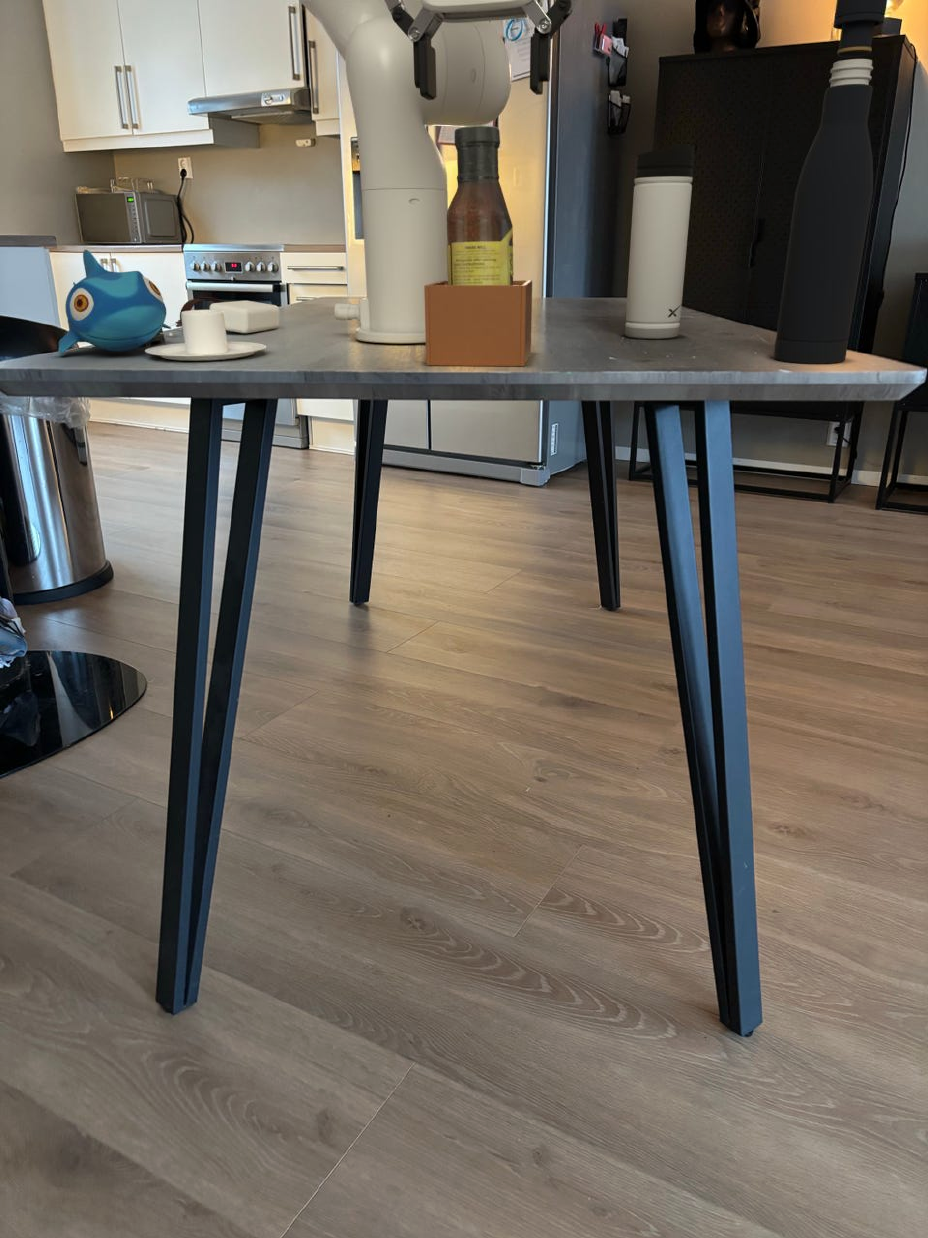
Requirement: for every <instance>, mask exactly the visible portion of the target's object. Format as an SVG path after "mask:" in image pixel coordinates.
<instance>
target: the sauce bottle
mask: <svg viewBox="0 0 928 1238" xmlns="http://www.w3.org/2000/svg"><path fill="white" fill-rule="evenodd" d="M500 133H501V132H500V128H498V127H497V126H494V125H493V126H491V125H483V126H467V127H461V126H460V127H457V128H456V129H454V147H455V149H456V158H457V159H456V160H457V162H456V163H457V164H456V165H457V176H456V180H457V187H456V192H455V194H454V195H453V198H452V199H451V201H450V204H449V206H448V212H447V240H448V245H447V246H446V247H447V274H448V285H513V280H514V225H513V222H512V219H511V216H510V212H509V209H508V206H507V203H506V200H505V196H504V193H503V190H502V187H501V183H500V174H499V148H500V145H501V137H500Z"/></svg>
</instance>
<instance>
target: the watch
mask: <svg viewBox="0 0 928 1238" xmlns="http://www.w3.org/2000/svg"><path fill="white" fill-rule="evenodd" d="M203 301H205V302H213V303H222V302H223V301H222V300H221V299H218V298H216V297H212V296H197V297H196V298H194V299H190V300H188V301H186V302H185V303H184V304H183V306H182V307H181V308H180V311H179V320H180V321H181V323H182V319H181V312H183V311H190V310H192V309H193V308H194V307H195V305H196V304H198V303H199V302H203Z"/></svg>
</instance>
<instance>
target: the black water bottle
mask: <svg viewBox="0 0 928 1238" xmlns="http://www.w3.org/2000/svg"><path fill="white" fill-rule="evenodd" d="M887 4H888V0H836V4H835V11H834V12H835V13H834V19H833V28H834V29H836V30H841V31H840V39H839V46H838V50H837V52H836V54H837V56H838V57H839V58H842V59H843V58H845V59H843V60H838V61H835V62H834V63H833V64H832V68H831V69H830V71H829V73H830V74H831V78H829V80H828V82H829V84H830V86H829V87H827V88H826V89H825V92H824V96H823V102H822V103H823V104H822V111H821V119H820V124H819V128H818V130H817V132H816V135H815V137H814V139H813V142H812V144H811V146H810V148H809V150H808V153H807V155H806V157H805V159H804V163H803V166H802V168H801V172H800V175H799V178H798V182H797V185H796V189H795V192H794V200H793V208H792V215H791V222H790V231H789V238H788V245H787V254H786V260H785V267H784V276H783V285H782V290H781V297H780V298H781V300H780V306H779V315H778V321H777V329H776V337H775V345H774V351H773V358H774V360H777V361H780V362H787V363H794V364H795V363H796V364H814V365H815V364H816V365H817V364H818V365H821V364H822V365H823V364H837V363H843V362H845V361H846V356H847V353H848V352H847V351H848V345H849V339H850V333H851V327H852V321H853V314H854V310H855V302H856V298H857V297H856V296H857V290H858V284H859V279H860V271H861V265H862V260H863V253H864V247H865V242H866V236H867V230H868V223H869V218H870V217H869V216H870V211H871V206H872V205H871V204H872V200H873V199H872V198H873V193H874V167H873V166H874V164H873V163H874V159H873V152H872V151H873V150H872V144H871V139H870V132H869V125H868V121H869V115H870V107H871V102H872V95H873V90H874V89H873V86H872V85H870V84H869V82H870V81H871V80H872V76H871V72H872V71H873V70H874V67H873V60H872V59H868V58H862V57H867V56H869V55H870V54H871V53H872V42H873V37H874V30H875V28H876V27H879V26H881V25H883V24H884V23H885V17H886V16H885V15H886V12H887Z"/></svg>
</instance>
